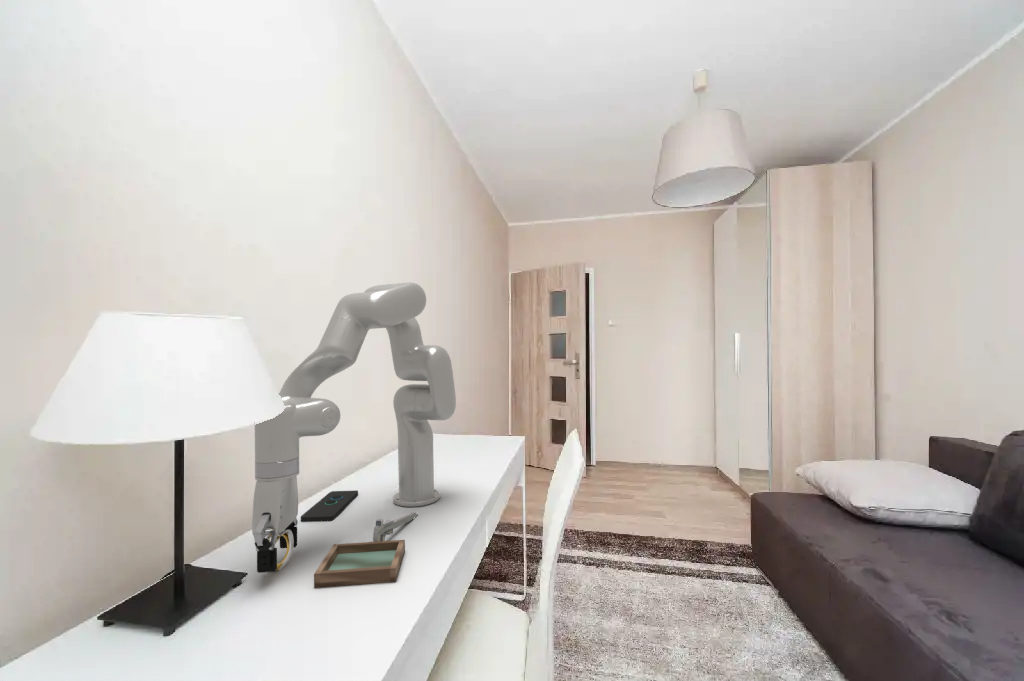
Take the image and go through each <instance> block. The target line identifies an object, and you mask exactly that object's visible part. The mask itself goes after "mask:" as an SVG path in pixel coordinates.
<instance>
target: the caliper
mask: <svg viewBox="0 0 1024 681" xmlns="http://www.w3.org/2000/svg"><path fill="white" fill-rule="evenodd" d="M417 515H418V513H417V512H410V513H407V514H405V515H402V516H401V517H398V518H396V519H389V520H387V521H384V519H383V518H378V519H376V520H375V526H374V527H373V535H372V542H377V541H386V536H389V535H391V534H393V533H394V530H395V529H397V528H398V527H401V526H403V525H404V524H407V523H410V522H412V521H413V520H412V519H413V518H414V517H416V518H417V517H418V516H419V515H418V516H417ZM411 520H412V521H411Z"/></svg>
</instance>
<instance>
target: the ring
mask: <svg viewBox="0 0 1024 681" xmlns="http://www.w3.org/2000/svg"><path fill="white" fill-rule="evenodd" d="M270 531H274V529H273V530H270ZM281 536H283V537H284V538H285V539H286V542H287V548H286V552H285V555H284V557H283V559H282V560H281V561H280V562H277V569H276V571H282V569H283V567H284V566H286V565H287V563H288V562H289V560H290V559H291V556H292V554H293V552H294V548H293V547H294V538H293V534H292V531H291V530H289V529H285V530H284V531H282V532H281V533H280V534H278V535H277V539H276V543H275V545H277V543H278V541H280V537H281ZM271 537H272V536H269V537H265V538H267V539H268V540H269V541H271Z"/></svg>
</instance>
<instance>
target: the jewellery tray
mask: <svg viewBox="0 0 1024 681" xmlns="http://www.w3.org/2000/svg"><path fill="white" fill-rule="evenodd" d="M405 552H406V539H397V540H396V539H394V540H393V539H392V540H385V541H377V542H373V541H365V542H364V541H363V542H350V543H334V544H333V545H332V547H331V548H330V549H329V550H328V552H327V554H326V556H325V557H324V558H323V559H322V561H321V563H320V564H319V566H318V567H317V569H316V571H315V572H314V573H313V588H314V589H319V588H320V589H321V588H332V587H334V588H335V587H346V586H347V587H348V586H357V585H358V586H359V585H361V586H362V585H371V584H372V585H373V584H385V583H387V584H389V583H397V580H398V577H399V573H400V569H401V566H402V562H403V559H404V556H405Z"/></svg>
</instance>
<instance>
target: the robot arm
mask: <svg viewBox="0 0 1024 681" xmlns="http://www.w3.org/2000/svg"><path fill="white" fill-rule="evenodd" d="M426 305H427V296H426V292H425V290H424V288H423V287H422V286H421V285H420V284H418V283H415V282H411V281H410V282H399V283H388V284H379V285H378V284H377V285H374V286H371V287H369V288H367V289H365V290H364V292H357V293H355V292H354V293H349V294H346V295H344V296H343V297H342V298H341V299H340V300H339V301H338V303H337V305H336V306H335V309H334V312H332V316H331V317H330V320H329V322H328V324H327V325H326V326H327V327H326V328H325V330H324V333H323V335H322V338H321V340H320V342H319V344H318V346H317V348H316V349H315V350H313V352H311V354H309V355H308V356H307V357H306V358H305V359H304V360H303V361H302V362H301V363H300V364H299V365H297V367H296V368H295V369H294V370H293V371H292V372H291V373H289V375H288V377H286V380H285V381H284V383H283V385H282V387H281V389H280V391H279V392H278V395H280V396H281V398H282V400H283V403H284V407H285V409H284V411H283V412H282V413H281V414H279V415H278V416H276V417H275V418H273V419H270V420H267V421H264V422H262V423H259V424H256V425H255V424H254V480H255V486H254V492H253V504H252V518H251V519H252V520H251V530H252V531H251V532H252V535H253V539H254V546H255V551H256V572H257V573H260V574H261V573H274V572H276V571H277V570H276V569H277V563H278V548H277V547H276V544H277V542H276V539H277V535H278V534H280V533H281V532H282V531H284V530H285V529H289V530H291V531H292V534H293V538H294V547H293V549H294V548H296V547H298V523H299V522H298V519H297V516H298V515H299V491H298V490H299V489H298V478H297V476H299V475H300V438H304V437H317V436H318V437H319V436H324V435H328V434H330V432H333V431H334V430H335V429H336V428H337V427H338V425H339V423H340V422H341V421H340V420H341V410H340V408H339V406H338V405H337V404H336V403H335V402H334V401H332V400H329V399H327V398H320V397H318V398H317V397H312V396H313V394H314V393H315V391H316V389H317V388H318V387H320V385H321V384H322V383H323V382H325V381H326V380H328V379H330V378H331V377H333V376H335V375H337V374H339V373H342V372H344V371H345V370H346V369H348V368H350V367H352V366H353V365H354V364H355V363H356V361H357V360H358V357H359V354H360V351H361V349H362V348H363V347H362V346H363V344H364V342H365V340H366V336H367V335H368V332H369V330H371V329H372V330H373V329H374V330H375V329H386V332H387V334H388V338H389V345H390V350H391V357H392V358H391V359H392V364H393V368H394V369H393V370H394V372H395V375H396V377H397V378H398V379H400V380H403V381H410V382H411V381H412V382H414V381H415V382H427V384H426V383H425V384H422V383H420V384H419V383H418V384H417V383H415V384H414V383H412V384H406V385H402V386H401V387H399V388H398V389H397V390H396V392H395V393H394V395H393V401H392V402H393V410H394V415H395V419H396V426H397V450H398V451H397V452H398V453H397V457H398V458H397V459H398V460H397V461H398V462H397V463H398V469H397V471H398V492H397V493H395V494H394V495H393V497H392V503H394V504H395V505H397V506H400V507H410V508H411V507H415V508H416V507H423V506H427V505H430V504H434V503H435V502H437V501H438V500H439V499H440V497H441V493H440V491H439V490H437V489H436V488H435V481H434V479H435V478H434V477H435V475H434V474H435V473H434V472H435V470H434V469H435V467H434V463H435V462H434V435H433V434H434V433H433V428H432V425H431V424H430V423H429V421H447V420H448V419H450V418H452V417H453V415H454V413H455V411H456V407H457V396H456V395H457V394H456V389H455V381H454V380H455V378H454V373H453V372H454V371H453V365H452V364H453V363H452V359H451V356H450V353H448V351H447V350H446V349H445V348H444V347H443V346H441V345H436V344H434V345H430V344H429V345H428V344H427V345H425V344H424V341H423V336H422V331H421V327H420V324H419V322H418V320H417V318H416V317H418V316H420V315H421V314H422V313H423V311H424V310H425V307H426ZM273 529H274V531H271V530H273ZM269 536H272V537H271V540H270V541H269V540H268V539H267V538H266V537H269ZM275 543H276V544H275ZM279 548H280V549H287V542H286V539H285V538H284V537H283V536H281V537H280V538H279Z"/></svg>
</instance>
